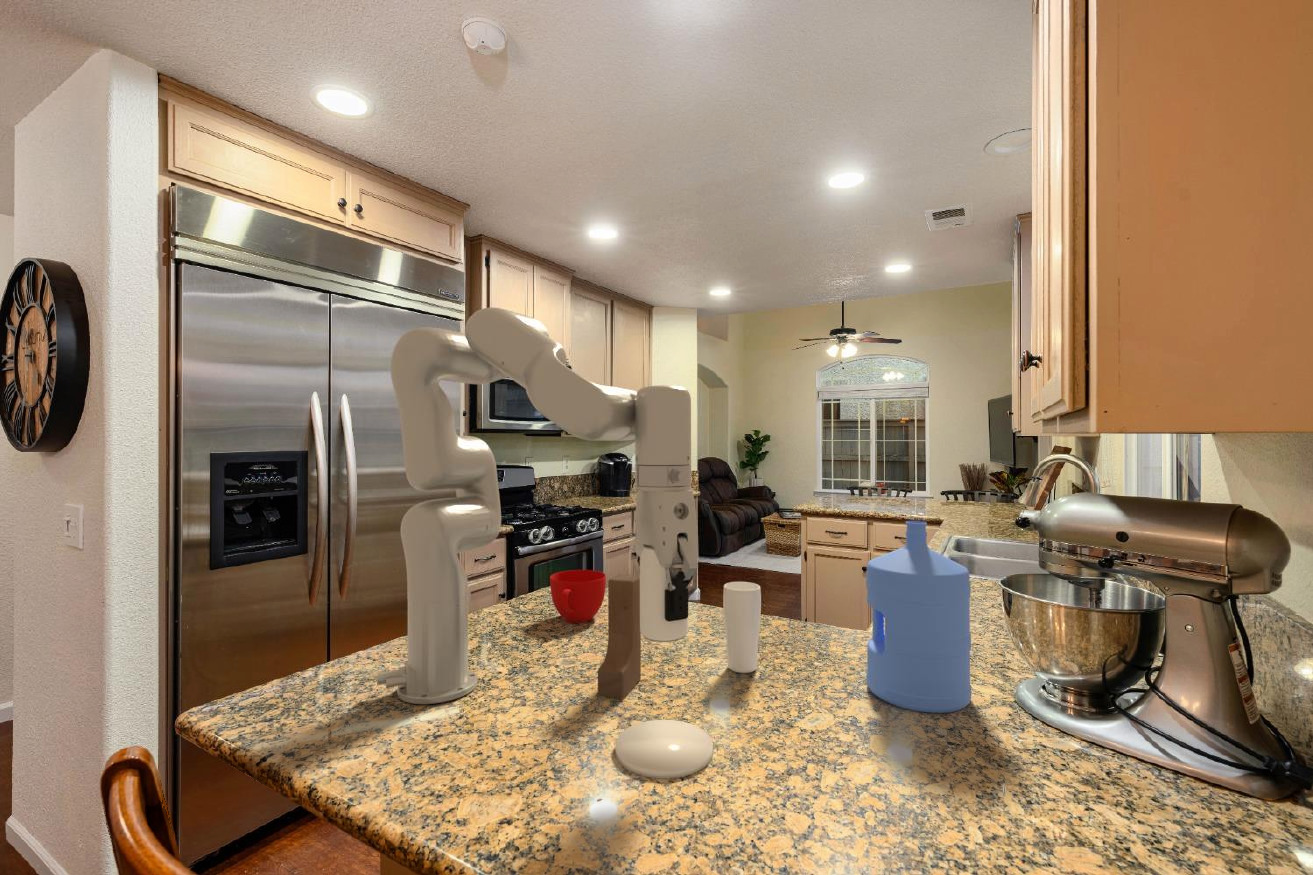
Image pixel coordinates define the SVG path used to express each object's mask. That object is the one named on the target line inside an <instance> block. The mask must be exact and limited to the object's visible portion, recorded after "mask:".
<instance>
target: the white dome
mask: <svg viewBox="0 0 1313 875" xmlns="http://www.w3.org/2000/svg"><path fill="white" fill-rule="evenodd" d="M713 755H714V744H713V740H712V738H711V735H709V733H708V732H707V731H706V730H704V729H702V728H701V727H699V726H697V725H695V724H692V723H689V722H686V721H685V722H684V721H681V720H674V719H654V720H653V719H652V720H647V721H641V722H638V723H636V724H634V725H631V726H629V727H627V728H626V729H624V730H623V731H621V733H619V735H618V736H617V738H616V741H615V757H616V760H617V761H618V763H619V764H620V765H621V766H622V767H623V768H625V769H626V770H628V771H629V772H631V773H634V774H636V775H639V776H643V777H646V778H653V779H677V778H682V777H686V776H687V777H688V776H689V775H690V776H691V775H692V774H693V775H694V774H695V773H697V772H699V771H701V770H703V769H705V768H706V767H707V766H708V765H709V763H710V762H711V761H712V759H713Z"/></svg>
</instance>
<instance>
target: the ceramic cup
mask: <svg viewBox="0 0 1313 875" xmlns="http://www.w3.org/2000/svg"><path fill="white" fill-rule="evenodd" d="M549 583H550V584H549V585H550V592H551V594H550V595H551V599H552V603H553V606H554V608H555V610H556V612H558V614H559V615H560V616H561V618H563V620H564V621H565V622H567V623H575V624H576V623H577V624H578V623H579V624H580V623H585V622H590V621H591V620H593V618H594V616H596V615H597V613H598V612H599V611H600V608H601V607H602V605H603V604H604V599H605V594H606V585H607V575H606V573H604V572H603V571H598V570H593V569H575V570H574V569H573V570H572V569H571V570H564V571H558V572H555V573H553V574H552V575H550V577H549Z"/></svg>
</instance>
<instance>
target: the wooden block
mask: <svg viewBox="0 0 1313 875" xmlns="http://www.w3.org/2000/svg"><path fill="white" fill-rule="evenodd" d="M607 582H608V583H607V587H608V588H607V589H608V590H607V592H608V594H607V595H608V597H607V600H608V601H607V604H608V605H607V606H608V608H607V609H608V611H607V612H608V614H607V616H608V617H607V618H608V620H607V621H608V622H607V624H608V625H607V626H608V627H607V628H608V629H607V630H608V631H607V632H608V633H607V634H608V637H607V648H606V653H605V657H604V661H602V663H601V664H600V665H599V668H598V669H597V697H600V698H601V697H602V698H609V699H615V700H624V698H626V696H627V695H628V694H629V693H630V692H631V690H632V689H633V688H634V687H635V686H636V685H637V683H638V682H640V680H641V679H642V678H641V675H642V674H641V671H642V667H641V666H642V665H641V664H642V662H641V661H642V660H641V658H642V657H641V656H642V655H641V654H642V653H641V652H642V651H641V648H642V644H641V641H642V639H641V637H642V634H641V633H640V576H639V575H633V574H632V575H631V574H620V573H619V574H616V575H614V576H612V577H611V578H609V579H608V580H607Z"/></svg>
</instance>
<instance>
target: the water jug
mask: <svg viewBox="0 0 1313 875" xmlns="http://www.w3.org/2000/svg"><path fill="white" fill-rule="evenodd" d="M905 525H906V531H905V536H906V537H905V538H906V539H905V540H906V541H905V545H903V547H900V548H898V549H895V550H893V551H890V552H888V553H887V552H886V553H885V554H882V555H880V556H878V557H874V558H872V559H870V560H869V561H868V562H867V564H866V573H865V585H866V586H865V587H866V603H867V604H868V606H870V607H871V609H872V637H871V638H870V639H869V640H868V642H867V645H866V649H867V651H866V652H867V657H866V659H867V662H866V663H867V666H866V667H867V668H866V672H865V673H866V675H865V676H866V684H867V687H868V689H869V690H870V692H871V693H872V694H873V695H875V696H876V697H877V698H879V699H880V700H882V701H884V702H886V703H888V704H890V705H893V706H896V707H898V708H901V709H906V710H910V711H915V712H920V713H927V714H928V713H929V714H930V713H931V714H946V713H954V712H957V711H960V710H962V709H964V708H966V707H967V706H968V705H969V704H970V702H971V701H972V684H971V649H972V648H971V647H972V636H971V629H970V628H971V622H970V621H971V620H970V619H971V615H970V613H971V610H970V605H971V602H970V601H971V600H970V599H971V593H972V590H971V587H972V586H971V581H970V571H969V568H967V567H965V566H964V565H962V564H960V563H958V562H956V561H955V560H952V559H950V558H948V557H946V556H944V555H942V554H940V553H939V552H936V551H934V550H932V549H931V548H930V547H929V546H928V544H927V537H928V532H927V528H926V527H927V525H928V523H927V522H926V521H922V520H906V521H905Z"/></svg>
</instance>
